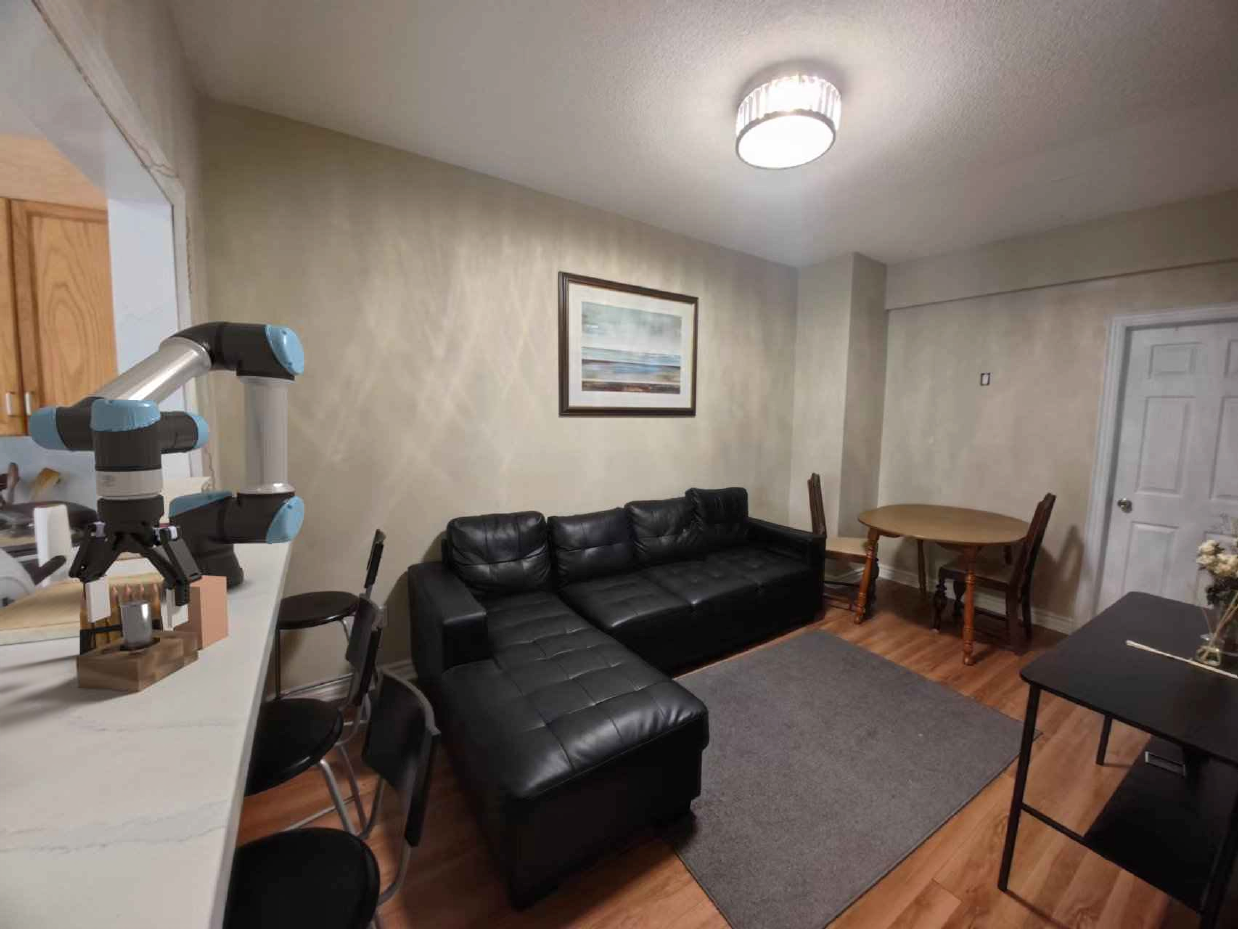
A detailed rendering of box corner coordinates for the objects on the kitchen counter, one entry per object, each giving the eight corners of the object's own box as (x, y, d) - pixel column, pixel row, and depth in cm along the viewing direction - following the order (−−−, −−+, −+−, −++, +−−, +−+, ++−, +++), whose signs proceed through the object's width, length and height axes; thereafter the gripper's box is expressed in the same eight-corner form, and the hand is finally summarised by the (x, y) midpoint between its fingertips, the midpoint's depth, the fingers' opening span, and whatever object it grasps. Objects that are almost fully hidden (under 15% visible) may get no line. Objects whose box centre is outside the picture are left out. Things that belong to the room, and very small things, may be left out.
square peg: (201, 634, 93) (198, 575, 92) (228, 635, 93) (226, 576, 91) (174, 647, 87) (170, 585, 86) (202, 649, 87) (199, 587, 86)
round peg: (141, 666, 81) (136, 599, 79) (160, 667, 81) (156, 600, 79) (120, 677, 77) (114, 607, 76) (140, 678, 77) (134, 608, 76)
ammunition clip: (79, 658, 83) (74, 592, 81) (84, 653, 84) (79, 588, 83) (162, 645, 88) (158, 583, 87) (165, 640, 90) (161, 580, 88)
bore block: (144, 655, 84) (142, 628, 84) (198, 659, 84) (196, 632, 83) (78, 687, 74) (75, 657, 74) (139, 691, 74) (137, 661, 73)
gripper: (27, 495, 73) (38, 626, 75) (183, 503, 72) (189, 636, 74) (84, 487, 80) (92, 607, 82) (226, 495, 79) (230, 616, 81)
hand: (138, 621), depth 78 cm, fingers open, 13 cm apart
